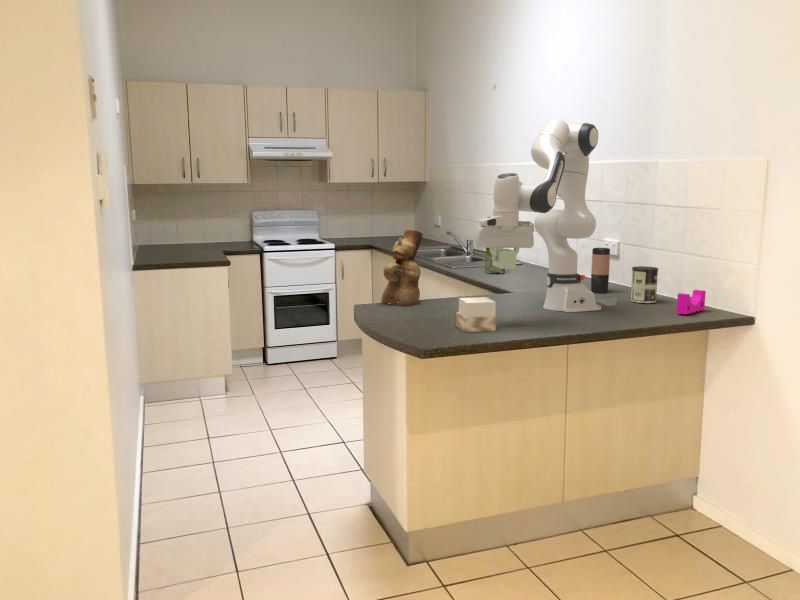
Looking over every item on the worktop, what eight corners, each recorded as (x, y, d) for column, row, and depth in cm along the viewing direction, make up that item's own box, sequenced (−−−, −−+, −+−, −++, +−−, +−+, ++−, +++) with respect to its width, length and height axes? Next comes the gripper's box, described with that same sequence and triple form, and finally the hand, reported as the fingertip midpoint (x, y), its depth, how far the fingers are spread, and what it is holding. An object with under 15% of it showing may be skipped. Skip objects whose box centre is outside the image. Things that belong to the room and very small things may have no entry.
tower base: (486, 325, 246) (486, 311, 245) (495, 331, 236) (495, 317, 235) (456, 326, 245) (456, 312, 244) (463, 332, 234) (464, 318, 233)
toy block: (688, 307, 279) (690, 288, 278) (704, 309, 274) (705, 290, 273) (670, 312, 269) (671, 292, 268) (685, 314, 264) (687, 294, 263)
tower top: (486, 311, 245) (486, 297, 244) (495, 316, 235) (495, 302, 234) (458, 312, 243) (459, 298, 242) (466, 317, 234) (467, 303, 233)
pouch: (502, 275, 371) (504, 228, 367) (480, 274, 375) (481, 227, 371) (506, 272, 382) (508, 226, 378) (485, 271, 386) (486, 226, 381)
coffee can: (656, 299, 295) (658, 266, 293) (656, 303, 286) (658, 269, 283) (630, 298, 299) (632, 265, 296) (630, 302, 289) (631, 268, 287)
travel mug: (611, 293, 311) (614, 248, 308) (597, 294, 308) (599, 249, 305) (600, 291, 318) (602, 247, 315) (586, 292, 315) (588, 248, 312)
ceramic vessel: (373, 304, 285) (373, 231, 280) (403, 297, 302) (403, 228, 297) (405, 308, 276) (405, 232, 271) (435, 300, 294) (435, 229, 289)
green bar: (506, 265, 249) (506, 248, 248) (515, 268, 238) (516, 251, 237) (492, 265, 248) (493, 248, 247) (501, 268, 238) (502, 251, 237)
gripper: (531, 220, 246) (529, 260, 248) (474, 220, 242) (473, 259, 245) (537, 221, 240) (535, 261, 242) (479, 220, 236) (478, 261, 238)
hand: (503, 260), depth 243 cm, fingers closed on green bar, 5 cm apart
